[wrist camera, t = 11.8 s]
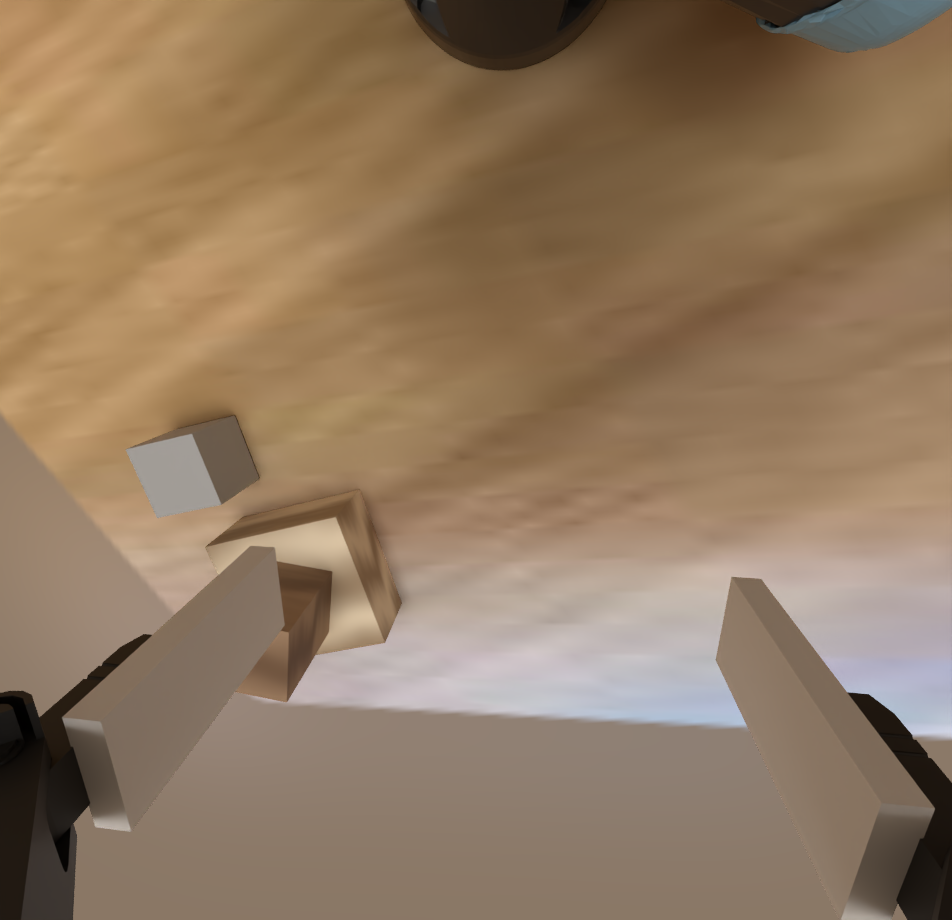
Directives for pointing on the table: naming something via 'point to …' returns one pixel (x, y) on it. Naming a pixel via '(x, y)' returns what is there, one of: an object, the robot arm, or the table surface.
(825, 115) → the table surface
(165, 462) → the slate cube
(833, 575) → the table surface
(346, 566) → the birch block
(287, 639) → the walnut block
